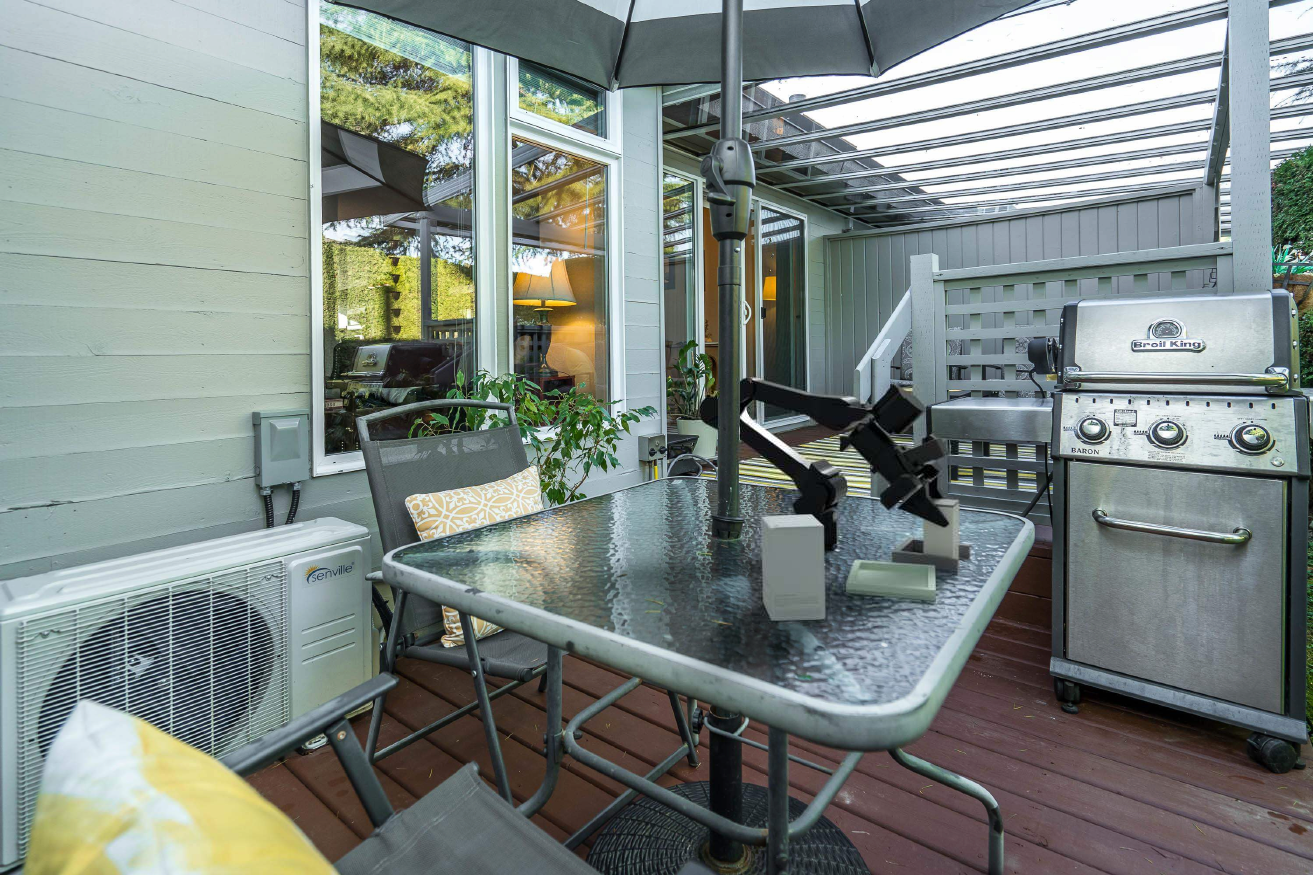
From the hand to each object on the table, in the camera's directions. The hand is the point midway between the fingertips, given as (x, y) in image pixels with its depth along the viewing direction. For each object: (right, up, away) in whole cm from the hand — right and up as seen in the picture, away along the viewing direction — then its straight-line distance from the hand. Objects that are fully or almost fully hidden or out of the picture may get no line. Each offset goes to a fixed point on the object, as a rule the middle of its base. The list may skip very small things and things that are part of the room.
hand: (950, 522), depth 108 cm
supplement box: (-29, -10, -18) cm, 36 cm away
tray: (-13, -8, -9) cm, 17 cm away
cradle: (-2, -7, +2) cm, 7 cm away
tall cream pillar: (-1, -7, +1) cm, 7 cm away
